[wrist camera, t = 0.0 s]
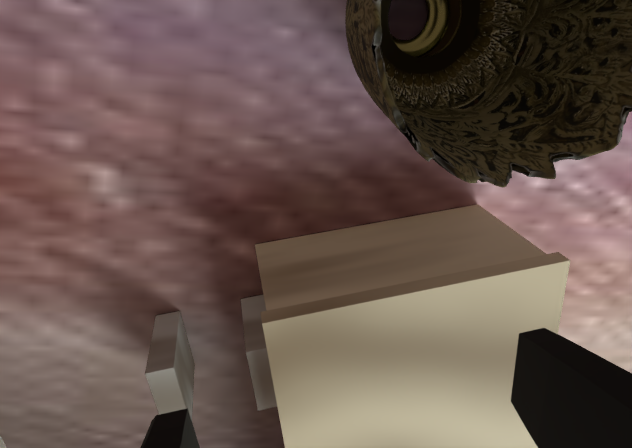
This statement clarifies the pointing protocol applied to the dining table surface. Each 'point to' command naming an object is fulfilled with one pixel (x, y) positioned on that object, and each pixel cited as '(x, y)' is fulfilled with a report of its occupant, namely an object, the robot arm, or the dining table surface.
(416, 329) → the cabinet
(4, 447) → the door
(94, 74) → the dining table surface
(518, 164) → the cup
